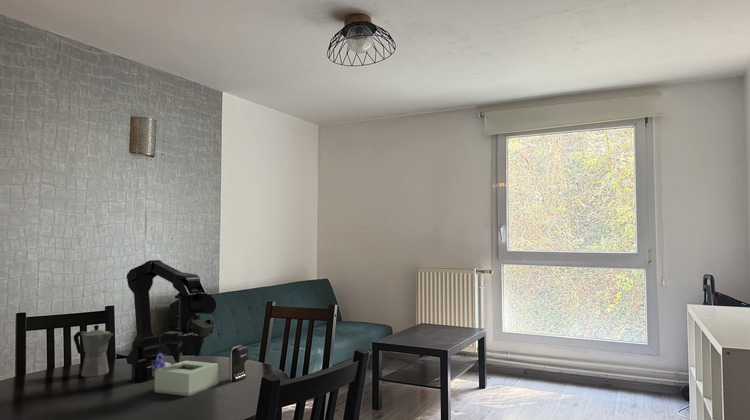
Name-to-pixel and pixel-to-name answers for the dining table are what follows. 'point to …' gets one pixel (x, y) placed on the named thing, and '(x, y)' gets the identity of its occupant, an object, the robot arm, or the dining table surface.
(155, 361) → the pudding
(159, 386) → the open box
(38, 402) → the dining table surface
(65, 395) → the dining table surface
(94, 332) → the coffeepot
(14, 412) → the dining table surface
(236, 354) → the battery charger
